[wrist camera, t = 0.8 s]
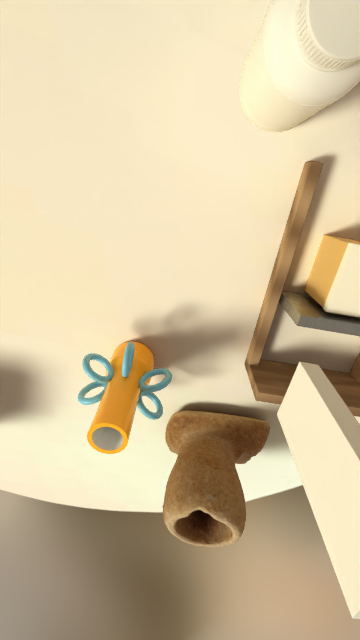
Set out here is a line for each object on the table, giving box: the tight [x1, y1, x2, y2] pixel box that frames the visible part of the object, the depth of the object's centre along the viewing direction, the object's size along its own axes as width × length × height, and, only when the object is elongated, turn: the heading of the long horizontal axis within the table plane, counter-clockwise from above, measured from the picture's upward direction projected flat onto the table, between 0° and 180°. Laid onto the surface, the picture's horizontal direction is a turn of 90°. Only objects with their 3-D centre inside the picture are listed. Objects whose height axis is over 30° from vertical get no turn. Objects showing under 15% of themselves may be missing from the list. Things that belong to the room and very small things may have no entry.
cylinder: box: [78, 341, 172, 454], centre depth 36 cm, size 12×10×15 cm
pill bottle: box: [240, 0, 360, 132], centre depth 23 cm, size 8×8×15 cm
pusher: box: [279, 291, 360, 336], centre depth 35 cm, size 1×13×8 cm, turn 81°
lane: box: [245, 161, 360, 417], centre depth 34 cm, size 26×16×8 cm, turn 171°
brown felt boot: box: [163, 411, 270, 547], centre depth 42 cm, size 15×12×15 cm
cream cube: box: [305, 235, 360, 317], centre depth 34 cm, size 7×7×7 cm
